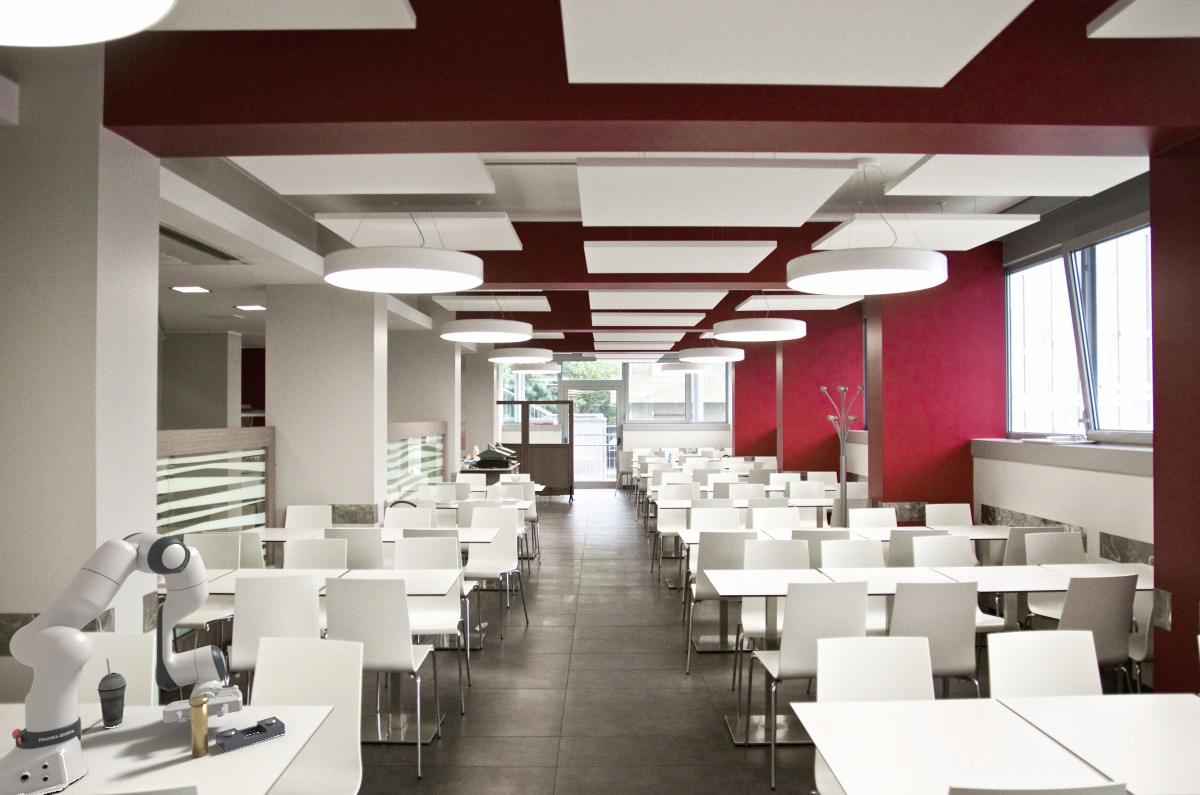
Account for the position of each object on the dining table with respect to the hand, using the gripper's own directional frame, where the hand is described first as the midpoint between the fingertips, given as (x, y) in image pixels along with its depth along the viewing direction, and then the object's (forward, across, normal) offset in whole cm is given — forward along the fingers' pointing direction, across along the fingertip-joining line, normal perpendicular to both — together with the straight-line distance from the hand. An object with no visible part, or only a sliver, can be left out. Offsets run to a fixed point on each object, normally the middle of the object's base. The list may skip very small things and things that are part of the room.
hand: (201, 717), depth 214 cm
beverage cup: (-29, -26, +8) cm, 40 cm away
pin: (+6, 0, +8) cm, 10 cm away
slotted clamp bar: (+2, +12, +8) cm, 15 cm away
